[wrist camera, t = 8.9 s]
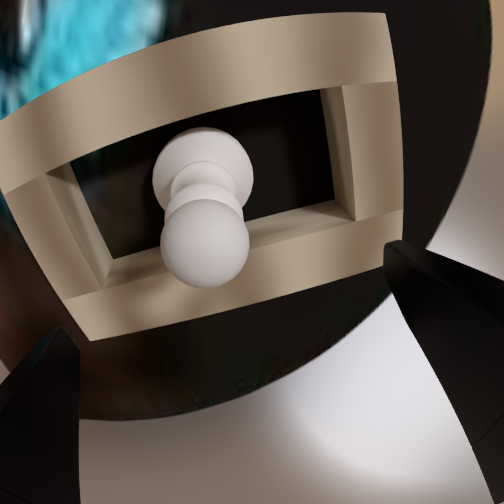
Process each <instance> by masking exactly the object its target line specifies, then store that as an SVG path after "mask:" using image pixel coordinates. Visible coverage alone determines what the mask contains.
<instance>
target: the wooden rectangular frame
mask: <svg viewBox="0 0 504 504" xmlns="http://www.w3.org/2000/svg"><path fill="white" fill-rule="evenodd" d="M315 89H320V95H321V101H322V107H323V113H324V119H325V126H326V132H327V139H328V146H329V154H330V161H331V169H332V178H333V186H334V196H335V199H334V200H330V201H326V202H322V203H318V204H314V205H310V206H306V207H302V208H298V209H294V210H290V211H286V212H282V213H278V214H275V215H271V216H267V217H263V218H259V219H255V220H252V221H248V222H244V223H245V226H246V228H247V230H248V234H249V245H250V246H249V252H248V257H247V260H246V262H245V264H244V266H243V268H242V269H241V271H240V272H239V273H238V274H237V275H236V276H235V277H234V278H233V279H232V280H230V281H228V282H227V283H225V284H223V285H220V286H218V287H213V288H196V287H192V286H189V285H186V284H185V283H183V282H181V281H179V280H178V279H177V278H176V277H175V276H174V275H173V274H171V272H170V271H169V269H168V268H167V266H166V265H165V263H164V261H163V257H162V253H161V249H160V246H158V247H155V248H151V249H148V250H144V251H141V252H137V253H134V254H131V255H127V256H124V257H121V258H117V259H114V260H113V258H112V256H111V254H110V252H109V250H108V248H107V246H106V244H105V242H104V240H103V238H102V236H101V234H100V232H99V230H98V228H97V225H96V223H95V221H94V219H93V217H92V215H91V212H90V210H89V208H88V206H87V203H86V201H85V199H84V196H83V194H82V192H81V189H80V187H79V185H78V182H77V180H76V177H75V175H74V172H73V170H72V167H71V165H70V162H69V161H72V160H74V159H76V158H78V157H81V156H83V155H85V154H88V153H90V152H92V151H95V150H97V149H100V148H102V147H105V146H107V145H110V144H112V143H115V142H117V141H120V140H123V139H125V138H128V137H131V136H133V135H136V134H139V133H142V132H145V131H147V130H150V129H153V128H156V127H159V126H162V125H165V124H169V123H172V122H175V121H178V120H182V119H185V118H188V117H192V116H195V115H199V114H202V113H206V112H210V111H213V110H217V109H221V108H225V107H229V106H233V105H237V104H241V103H246V102H250V101H255V100H259V99H264V98H269V97H274V96H279V95H285V94H290V93H296V92H302V91H308V90H315ZM0 188H1V191H2V193H3V195H4V198H5V200H6V202H7V204H8V206H9V208H10V211H11V213H12V215H13V217H14V219H15V221H16V223H17V225H18V227H19V229H20V231H21V233H22V235H23V237H24V238H25V240H26V242H27V244H28V246H29V248H30V250H31V251H32V253H33V255H34V257H35V258H36V260H37V262H38V264H39V265H40V267H41V269H42V270H43V272H44V274H45V275H46V277H47V279H48V280H49V282H50V283H51V285H52V287H53V288H54V290H55V291H56V293H57V294H58V296H59V298H60V299H61V301H62V302H63V304H64V305H65V307H66V308H67V309H68V311H69V312H70V314H71V315H72V317H73V318H74V320H75V321H76V322H77V324H78V325H79V326H80V328H81V329H82V331H83V332H84V333H85V335H86V336H87V337H88V339H89V340H90V341H94V340H99V339H104V338H109V337H114V336H118V335H123V334H128V333H133V332H137V331H142V330H146V329H151V328H155V327H160V326H164V325H169V324H173V323H177V322H181V321H186V320H190V319H194V318H198V317H202V316H206V315H210V314H214V313H218V312H222V311H226V310H230V309H234V308H238V307H242V306H246V305H249V304H253V303H257V302H261V301H264V300H268V299H272V298H276V297H279V296H283V295H286V294H290V293H293V292H297V291H301V290H304V289H308V288H311V287H314V286H318V285H321V284H325V283H328V282H331V281H335V280H338V279H341V278H345V277H348V276H351V275H355V274H358V273H361V272H364V271H367V270H371V269H374V268H377V267H380V266H383V249H384V245H385V244H386V243H387V242H390V241H394V240H402V224H403V153H402V133H401V119H400V107H399V97H398V88H397V80H396V72H395V65H394V59H393V52H392V46H391V41H390V35H389V30H388V25H387V20H386V15H385V13H320V14H305V15H294V16H285V17H276V18H269V19H262V20H255V21H249V22H243V23H238V24H233V25H228V26H223V27H218V28H214V29H210V30H205V31H201V32H197V33H194V34H190V35H186V36H183V37H179V38H176V39H172V40H169V41H166V42H162V43H159V44H156V45H153V46H150V47H147V48H144V49H142V50H139V51H136V52H133V53H131V54H128V55H125V56H123V57H120V58H118V59H115V60H113V61H110V62H108V63H106V64H103V65H101V66H99V67H96V68H94V69H92V70H90V71H87V72H85V73H83V74H81V75H79V76H77V77H75V78H73V79H71V80H69V81H67V82H65V83H63V84H61V85H59V86H57V87H55V88H53V89H52V90H50V91H48V92H46V93H44V94H43V95H41V96H39V97H37V98H36V99H34V100H32V101H31V102H29V103H27V104H26V105H24V106H22V107H21V108H19V109H18V110H16V111H14V112H13V113H11V114H10V115H8V116H7V117H5V118H4V119H2V120H1V121H0Z"/></svg>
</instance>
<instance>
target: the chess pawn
mask: <svg viewBox="0 0 504 504" xmlns="http://www.w3.org/2000/svg"><path fill="white" fill-rule="evenodd" d="M152 183H153V188H154V193H155V196H156V198H157V200H158V202H159V204H160V205H161V207H162V208H163V209H164V210H165V225H164V228H163V230H162V233H161V244H160V249H161V253H162V257H163V261H164V263H165V265H166V266H167V268H168V269H169V271H170V272H171V274H173V275H174V276H175V277H176V278H177V279H178V280H179V281H181V282H183V283H185V284H186V285H189V286H192V287H196V288H213V287H218V286H220V285H223V284H225V283H227V282H228V281H230V280H232V279H233V278H234V277H235V276H236V275H237V274H238V273H239V272H240V271H241V269H242V268H243V266H244V264H245V262H246V260H247V257H248V252H249V246H250V245H249V234H248V230H247V228H246V226H245V223H244V221H243V212H242V207H243V206H244V204H245V203H246V201H247V199H248V197H249V195H250V193H251V189H252V184H253V169H252V165H251V163H250V160H249V157H248V155H247V154H246V152H245V150H244V149H243V147H242V146H241V145H240V143H239V142H238V141H237V140H236V139H235V138H233V137H232V136H231V135H230V134H228V133H226V132H224V131H221V130H219V129H216V128H209V127H198V128H191V129H188V130H186V131H183V132H181V133H179V134H177V135H176V136H175V137H173V138H172V139H171V140H170V141H168V143H167V144H166V145H165V147H164V148H163V149H162V151H161V152H160V155H159V156H158V158H157V161H156V164H155V166H154V169H153V180H152Z"/></svg>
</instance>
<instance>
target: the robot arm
mask: <svg viewBox="0 0 504 504" xmlns="http://www.w3.org/2000/svg"><path fill="white" fill-rule="evenodd" d="M383 273H384V277H385V279H386V281H387V283H388V285H389V287H390V289H391V291H392V293H393V295H394V297H395V299H396V301H397V304H398V306H399V308H400V310H401V312H402V315H403V316H404V318H405V321H406V323H407V324H408V326H409V328H410V330H411V331H412V333H413V335H414V337H415V338H416V340H417V342H418V343H419V345H420V347H421V348H422V350H423V352H424V354H425V356H426V357H427V359H428V361H429V363H430V365H431V367H432V368H433V370H434V372H435V374H436V376H437V378H438V379H439V381H440V383H441V385H442V387H443V389H444V391H445V393H446V395H447V397H448V399H449V400H450V403H451V404H452V407H453V409H454V410H455V413H456V415H457V417H458V419H459V421H460V423H461V425H462V427H463V429H464V431H465V434H466V436H467V438H468V440H469V442H470V445H471V446H472V450H473V452H474V454H475V457H476V459H477V461H478V464H479V466H480V468H481V470H482V473H483V476H484V478H485V481H486V483H487V486H488V488H489V491H490V494H491V496H492V499H493V502H494V504H499V503H502V502H504V281H503V280H501V279H498V278H496V277H494V276H491V275H489V274H487V273H484V272H482V271H479V270H477V269H475V268H472V267H470V266H467V265H464V264H462V263H460V262H457V261H455V260H452V259H449V258H447V257H445V256H442V255H439V254H437V253H434V252H431V251H429V250H426V249H424V248H421V247H418V246H416V245H413V244H410V243H407V242H405V241H402V240H394V241H390V242H387V243H386V244H385V245H384V249H383ZM79 415H80V350H79V347H78V345H77V344H76V342H75V341H74V340H73V339H72V337H71V336H70V335H69V333H68V332H67V331H66V330H65V329H64V328H63V327H58V328H53V329H51V330H49V331H48V332H47V334H46V335H45V336H44V337H43V338H42V339H41V340H40V341H39V342H38V343H37V344H36V345H35V346H34V347H33V348H32V349H31V351H30V352H29V353H28V354H27V355H26V356H25V357H24V358H23V359H22V360H21V362H20V363H19V364H18V365H17V366H16V367H15V368H14V369H13V371H12V372H11V373H10V374H9V375H8V376H7V377H6V379H5V380H4V381H3V382H2V383H1V385H0V504H81V501H80V486H79Z"/></svg>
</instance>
